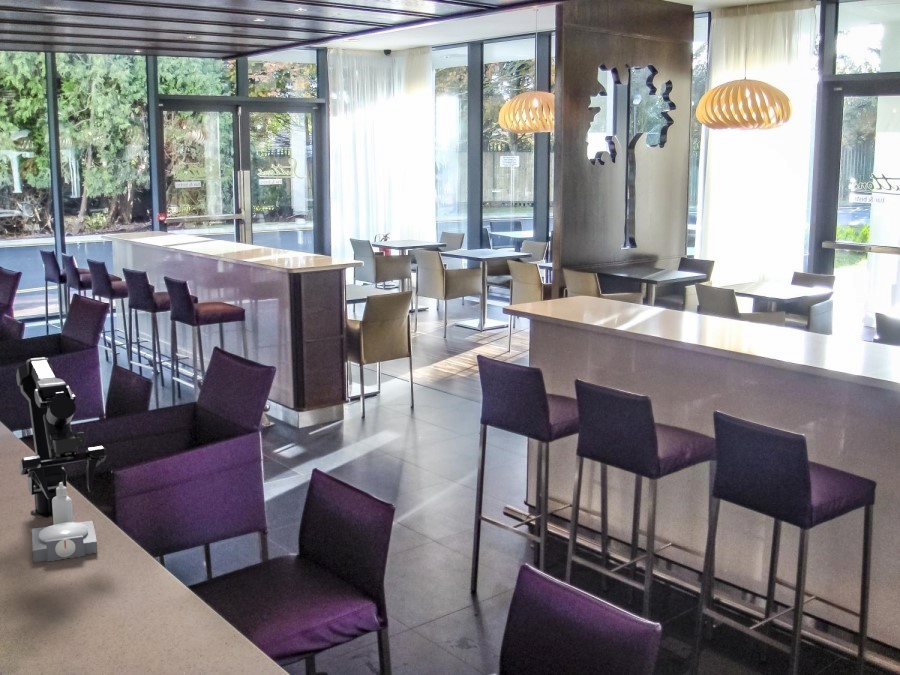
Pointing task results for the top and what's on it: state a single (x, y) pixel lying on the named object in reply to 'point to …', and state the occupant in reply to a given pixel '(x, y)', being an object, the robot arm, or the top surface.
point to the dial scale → (63, 541)
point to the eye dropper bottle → (62, 506)
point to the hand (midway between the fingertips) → (69, 495)
